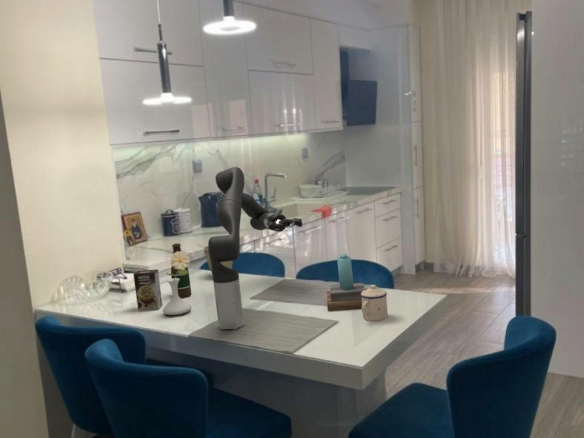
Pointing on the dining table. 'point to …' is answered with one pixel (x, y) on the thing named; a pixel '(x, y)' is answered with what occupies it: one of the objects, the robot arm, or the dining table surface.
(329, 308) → the tower base
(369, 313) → the teacup with lid
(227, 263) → the plant pot
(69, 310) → the dining table surface
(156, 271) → the coffee box
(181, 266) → the flower in vase
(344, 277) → the teal bottle
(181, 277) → the beer bottle
